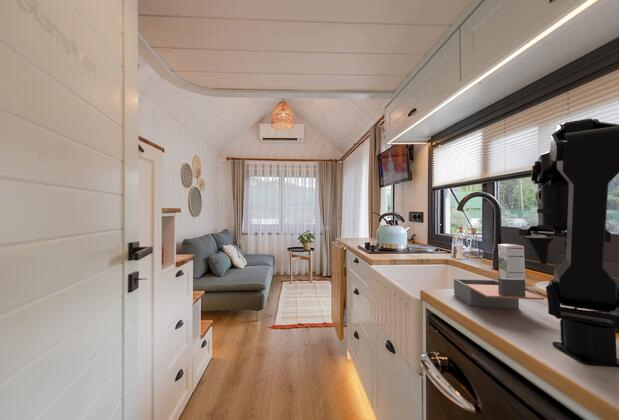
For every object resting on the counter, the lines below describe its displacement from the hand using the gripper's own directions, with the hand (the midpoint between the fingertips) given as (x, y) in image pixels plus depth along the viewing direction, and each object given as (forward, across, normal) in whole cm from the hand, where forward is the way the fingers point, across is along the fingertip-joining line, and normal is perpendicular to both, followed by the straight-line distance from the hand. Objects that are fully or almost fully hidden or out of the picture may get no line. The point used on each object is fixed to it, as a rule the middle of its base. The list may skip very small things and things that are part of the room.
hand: (559, 267), depth 60 cm
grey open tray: (+12, +10, +12) cm, 20 cm away
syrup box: (+12, +30, -8) cm, 33 cm away
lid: (+7, +2, +12) cm, 14 cm away
